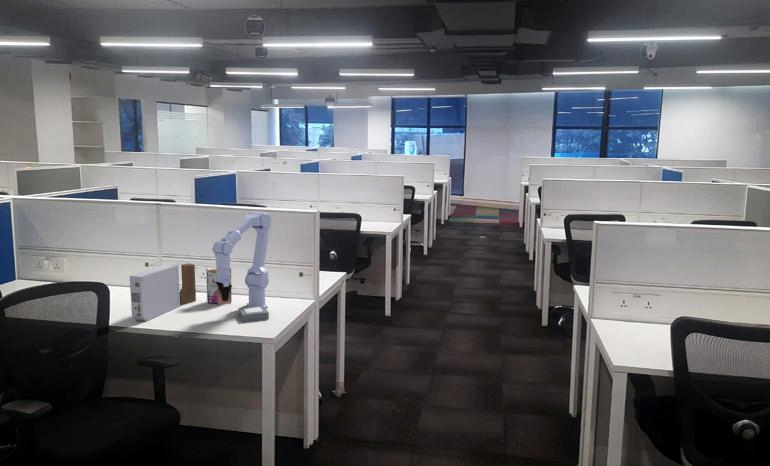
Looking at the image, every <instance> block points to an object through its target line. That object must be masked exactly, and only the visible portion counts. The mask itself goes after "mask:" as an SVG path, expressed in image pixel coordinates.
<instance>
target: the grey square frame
mask: <svg viewBox="0 0 770 466" xmlns="http://www.w3.org/2000/svg"><path fill="white" fill-rule="evenodd" d="M237 309H238V316H239V318H240V319H241V321H242V322H243V323H245V322H255V321H263V320H269V319H270V318H269V317H270V313H269V311H268V310H267V308H265V307H264V306H258V307H248V306H247V307H239V308H237Z"/></svg>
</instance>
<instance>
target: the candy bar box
mask: <svg viewBox="0 0 770 466" xmlns="http://www.w3.org/2000/svg"><path fill="white" fill-rule="evenodd" d="M205 270H206V272H205V273H206V302H207V304H218V301H217V291H219V289H218V286H217V284H216V282H218V281H214V279H216V278H217V273H216V267H206V269H205ZM230 278H231V280H230V282H229V285H232V269H231V267H230ZM230 292H231V293H232V289H231V290H230ZM232 301H233V300H232V298H231V302H232Z"/></svg>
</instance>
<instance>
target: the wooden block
mask: <svg viewBox="0 0 770 466" xmlns="http://www.w3.org/2000/svg"><path fill="white" fill-rule="evenodd" d="M180 265H181V270H180V271H181V289H180V290H179V292H180V306H183V305H186V304H190V303H193V302H196V301H197V293H196V292H197V289H196V269H195V265H196V264H194V263H184V264H180Z"/></svg>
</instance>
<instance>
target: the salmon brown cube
mask: <svg viewBox="0 0 770 466" xmlns="http://www.w3.org/2000/svg"><path fill="white" fill-rule="evenodd" d="M231 299H232V291H231V292H230V293H229V298H228V301H223V300H222V296H221V291H220V290H219V291H217V301H218V303H217V304H218V305H219V306H221V305H229V304H230V305H231V304H232V301H231Z"/></svg>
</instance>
